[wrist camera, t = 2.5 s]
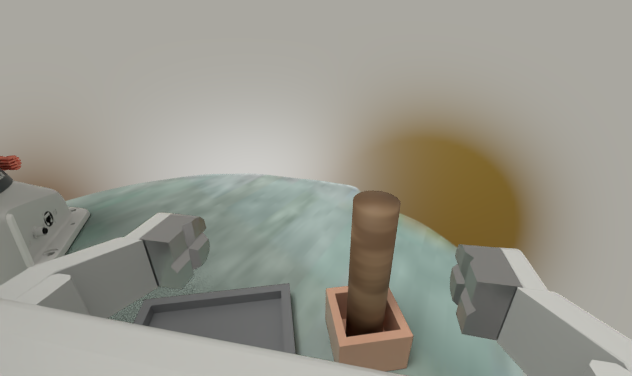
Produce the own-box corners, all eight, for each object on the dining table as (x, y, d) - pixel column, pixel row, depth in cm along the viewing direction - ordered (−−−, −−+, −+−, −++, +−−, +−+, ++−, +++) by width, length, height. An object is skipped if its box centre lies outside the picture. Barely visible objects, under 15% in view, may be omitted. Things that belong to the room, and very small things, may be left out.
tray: (149, 313, 33) (144, 299, 32) (290, 296, 35) (289, 283, 34) (62, 514, 19) (48, 499, 18) (304, 466, 21) (304, 451, 20)
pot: (325, 318, 33) (325, 288, 31) (382, 311, 33) (386, 281, 31) (338, 378, 27) (339, 346, 25) (406, 367, 28) (413, 336, 26)
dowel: (341, 325, 31) (348, 192, 24) (374, 320, 32) (390, 189, 25) (350, 357, 28) (360, 214, 21) (386, 352, 28) (408, 211, 21)
